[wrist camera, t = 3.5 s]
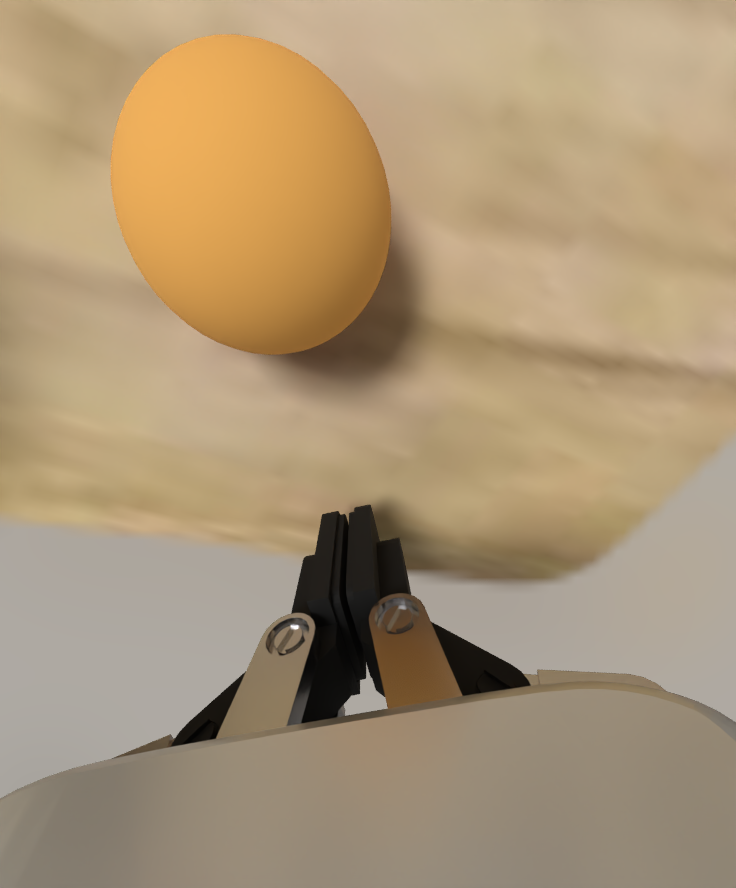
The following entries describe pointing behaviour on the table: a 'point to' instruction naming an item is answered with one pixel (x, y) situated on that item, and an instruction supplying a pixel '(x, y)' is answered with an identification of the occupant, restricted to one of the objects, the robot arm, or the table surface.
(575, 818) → the robot arm
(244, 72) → the ball
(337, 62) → the table surface
